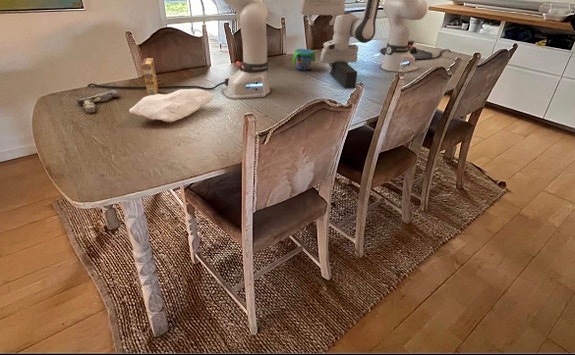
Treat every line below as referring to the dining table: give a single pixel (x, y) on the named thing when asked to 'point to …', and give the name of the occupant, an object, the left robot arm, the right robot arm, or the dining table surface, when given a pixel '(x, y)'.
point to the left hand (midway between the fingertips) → (321, 25)
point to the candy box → (150, 76)
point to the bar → (344, 74)
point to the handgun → (95, 100)
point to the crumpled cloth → (171, 104)
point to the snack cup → (303, 58)
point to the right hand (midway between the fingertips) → (337, 70)
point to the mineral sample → (414, 51)
